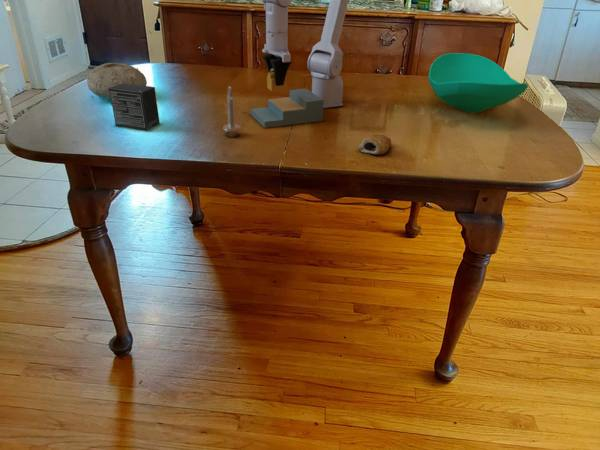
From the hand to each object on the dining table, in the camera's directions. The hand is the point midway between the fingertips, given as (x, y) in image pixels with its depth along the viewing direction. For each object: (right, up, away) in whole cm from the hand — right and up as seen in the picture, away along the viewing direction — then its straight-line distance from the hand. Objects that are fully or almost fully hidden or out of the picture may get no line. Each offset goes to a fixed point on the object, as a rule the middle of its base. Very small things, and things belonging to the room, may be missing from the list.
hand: (276, 83), depth 128 cm
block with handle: (0, -1, +1) cm, 2 cm away
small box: (-38, -12, -2) cm, 40 cm away
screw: (-12, -16, -6) cm, 21 cm away
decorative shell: (-52, +1, +19) cm, 55 cm away
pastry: (+26, -21, -12) cm, 35 cm away
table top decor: (+61, -3, +19) cm, 64 cm away
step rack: (+2, -8, +7) cm, 11 cm away
